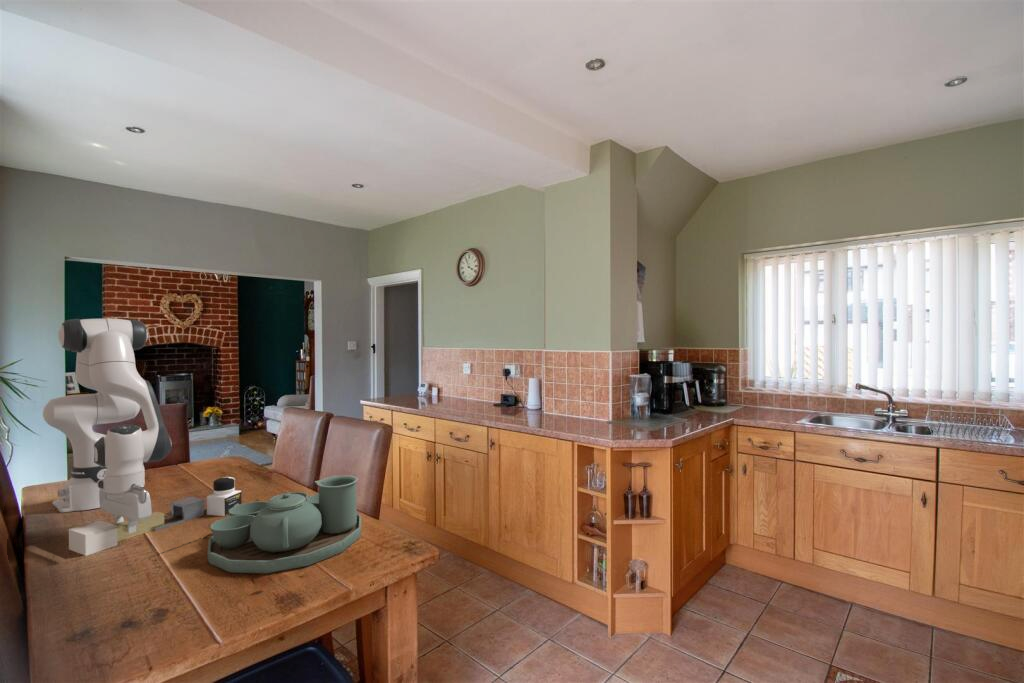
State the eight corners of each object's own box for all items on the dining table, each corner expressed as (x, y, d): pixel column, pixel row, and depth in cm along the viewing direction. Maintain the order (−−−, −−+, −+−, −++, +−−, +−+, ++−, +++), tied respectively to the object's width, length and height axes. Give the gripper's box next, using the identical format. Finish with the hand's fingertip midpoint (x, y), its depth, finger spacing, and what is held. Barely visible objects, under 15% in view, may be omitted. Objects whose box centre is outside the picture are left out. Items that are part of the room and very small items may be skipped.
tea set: (326, 507, 163) (326, 459, 163) (386, 541, 135) (386, 483, 135) (189, 542, 135) (189, 485, 135) (230, 595, 106) (229, 522, 106)
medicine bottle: (225, 519, 151) (224, 482, 151) (206, 518, 153) (205, 481, 153) (242, 511, 158) (241, 475, 158) (223, 510, 160) (223, 474, 160)
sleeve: (141, 530, 143) (141, 510, 143) (190, 515, 155) (190, 496, 155) (156, 535, 139) (156, 514, 139) (205, 518, 152) (205, 499, 152)
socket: (68, 553, 128) (68, 529, 128) (100, 543, 134) (100, 520, 134) (85, 559, 124) (85, 535, 124) (117, 549, 130) (117, 525, 130)
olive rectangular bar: (92, 544, 130) (92, 530, 130) (156, 524, 145) (156, 511, 145) (99, 547, 128) (99, 532, 128) (164, 526, 143) (164, 513, 143)
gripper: (158, 484, 134) (158, 532, 134) (119, 475, 143) (120, 520, 143) (132, 490, 128) (132, 541, 128) (93, 481, 137) (94, 528, 137)
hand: (125, 530), depth 136 cm, fingers closed on olive rectangular bar, 4 cm apart
